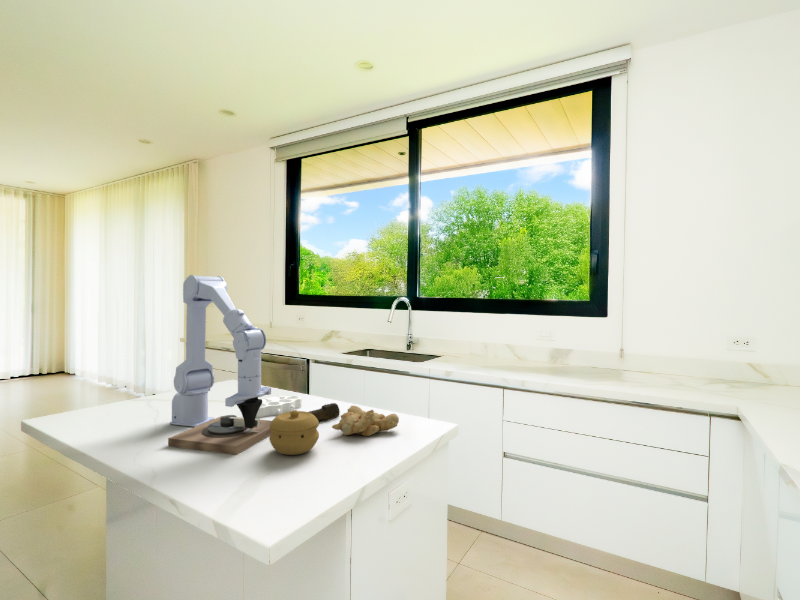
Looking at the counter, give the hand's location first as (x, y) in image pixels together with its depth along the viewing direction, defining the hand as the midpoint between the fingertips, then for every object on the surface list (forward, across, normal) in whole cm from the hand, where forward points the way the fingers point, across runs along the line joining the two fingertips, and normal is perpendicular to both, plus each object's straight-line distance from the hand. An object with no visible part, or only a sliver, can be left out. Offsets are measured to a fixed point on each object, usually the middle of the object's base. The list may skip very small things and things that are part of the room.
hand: (249, 427), depth 109 cm
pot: (+4, -1, -15) cm, 15 cm away
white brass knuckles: (+4, +27, +14) cm, 30 cm away
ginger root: (+4, +18, -24) cm, 30 cm away
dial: (+1, +1, +5) cm, 5 cm away
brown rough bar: (+4, +20, -6) cm, 21 cm away
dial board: (+3, 0, +7) cm, 8 cm away
